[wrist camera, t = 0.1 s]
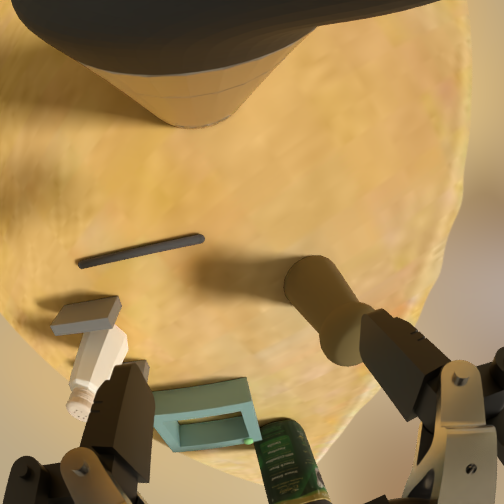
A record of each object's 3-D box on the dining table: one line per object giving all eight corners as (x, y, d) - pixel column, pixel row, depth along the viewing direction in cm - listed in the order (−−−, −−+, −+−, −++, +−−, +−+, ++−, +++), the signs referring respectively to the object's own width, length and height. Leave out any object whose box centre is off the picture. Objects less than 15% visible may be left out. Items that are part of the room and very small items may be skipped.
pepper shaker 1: (76, 323, 26) (40, 394, 16) (115, 313, 26) (85, 390, 16) (99, 359, 28) (76, 432, 18) (137, 352, 28) (122, 430, 18)
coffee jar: (244, 429, 36) (268, 536, 19) (293, 411, 36) (334, 517, 19) (265, 451, 40) (290, 539, 23) (308, 436, 40) (342, 522, 23)
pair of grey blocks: (64, 305, 25) (49, 325, 21) (117, 295, 25) (107, 317, 22) (99, 372, 28) (92, 394, 25) (149, 367, 29) (145, 391, 25)
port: (148, 392, 30) (145, 418, 26) (246, 377, 32) (252, 403, 28) (173, 431, 34) (173, 454, 30) (256, 418, 35) (262, 442, 31)
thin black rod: (81, 267, 24) (78, 270, 23) (78, 260, 23) (75, 263, 23) (205, 240, 25) (205, 243, 24) (203, 232, 25) (203, 234, 24)
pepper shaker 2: (294, 316, 30) (333, 389, 20) (275, 271, 27) (315, 340, 17) (343, 292, 30) (397, 353, 20) (329, 245, 27) (392, 298, 17)
